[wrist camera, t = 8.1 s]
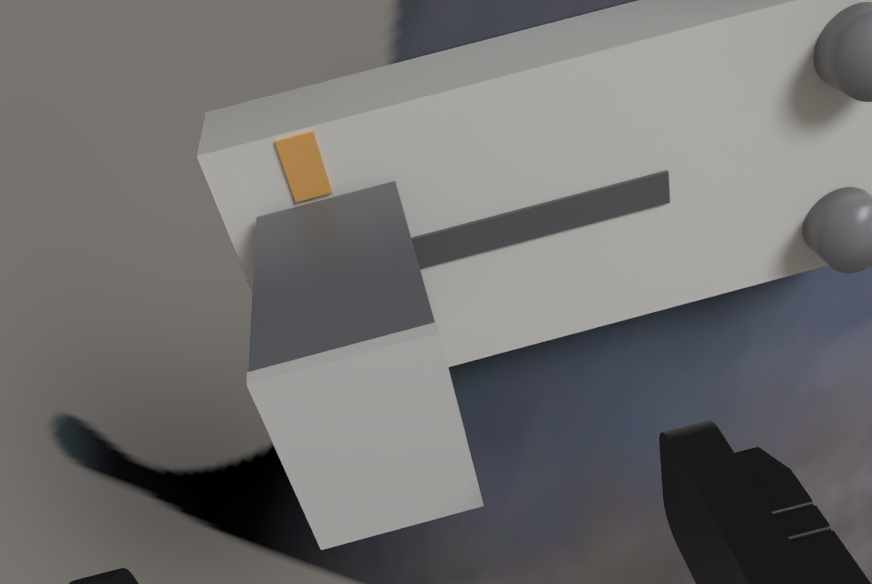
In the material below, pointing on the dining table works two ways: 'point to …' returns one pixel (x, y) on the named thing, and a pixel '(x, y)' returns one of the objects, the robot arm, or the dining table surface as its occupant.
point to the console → (585, 161)
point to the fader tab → (355, 369)
